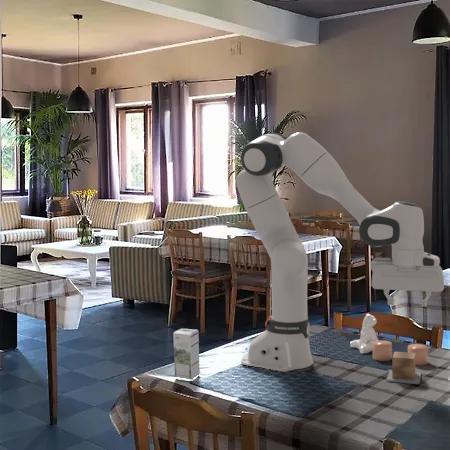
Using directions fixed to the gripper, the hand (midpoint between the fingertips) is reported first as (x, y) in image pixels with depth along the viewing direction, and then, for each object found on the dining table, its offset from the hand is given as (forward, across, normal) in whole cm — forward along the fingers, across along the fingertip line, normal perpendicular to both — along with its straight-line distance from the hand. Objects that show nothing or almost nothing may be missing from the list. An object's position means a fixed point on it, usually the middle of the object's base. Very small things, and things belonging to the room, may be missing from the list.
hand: (407, 305), depth 196 cm
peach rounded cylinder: (+21, +2, +14) cm, 25 cm away
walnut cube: (+20, 0, -2) cm, 20 cm away
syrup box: (+22, -61, -19) cm, 68 cm away
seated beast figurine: (+21, -15, +25) cm, 36 cm away
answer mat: (+21, 0, -2) cm, 21 cm away
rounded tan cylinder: (+21, -9, +16) cm, 28 cm away
